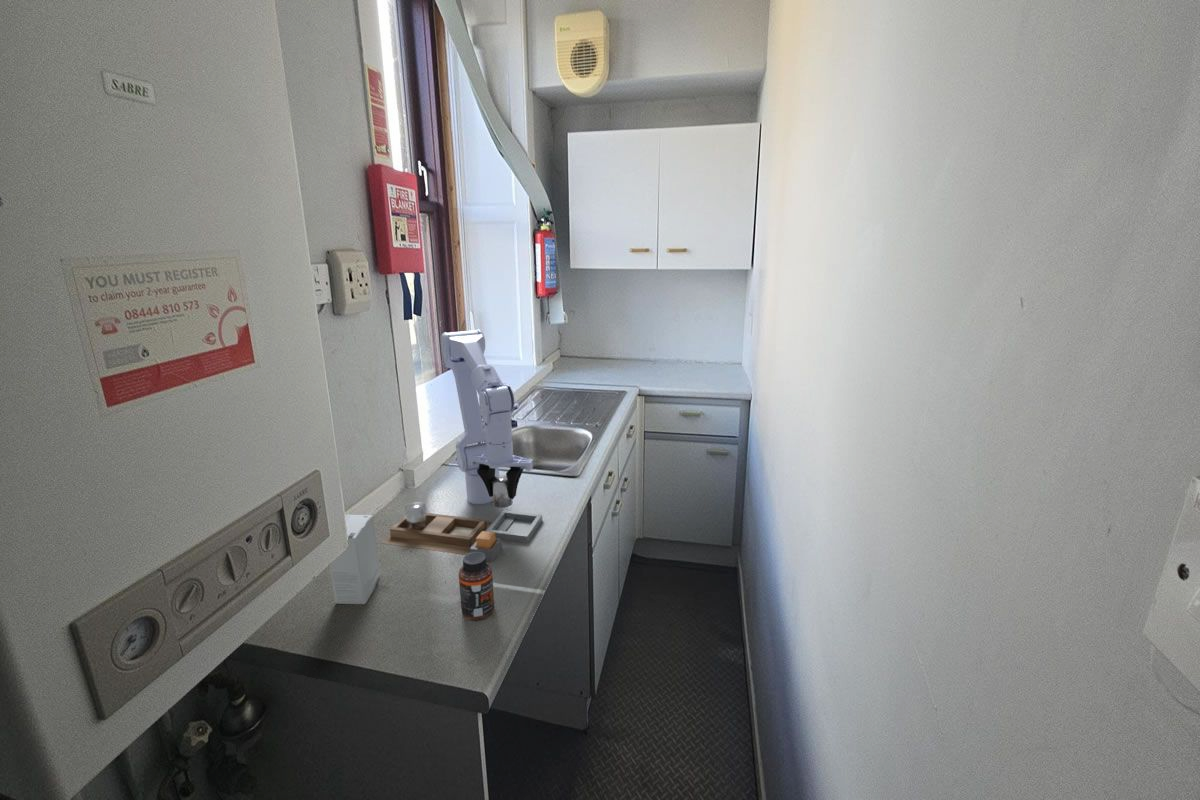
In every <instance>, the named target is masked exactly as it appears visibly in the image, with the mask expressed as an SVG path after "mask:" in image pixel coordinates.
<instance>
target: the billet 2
mask: <svg viewBox="0 0 1200 800" xmlns="http://www.w3.org/2000/svg"><path fill="white" fill-rule="evenodd" d="M492 491H493V501H492V503H493V506H494V507H496V508H500V509H503V508H509V507H510V506H512V505H513V504H514V498H513V499H510V496H509V484H508V479H507V476H506V474H499V475H498V476H495V477H493V478H492Z"/></svg>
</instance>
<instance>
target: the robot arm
mask: <svg viewBox="0 0 1200 800" xmlns="http://www.w3.org/2000/svg"><path fill="white" fill-rule="evenodd" d="M440 349H441V355H442V359H443V364H444V367H445V368H448V369H451V370H452V373H453V376H454V381H455V385H456V391H457V398H458V401H459V407H460V408H459V409H460V414H461V418H462V425H463V431H464V433H463V435H462V436H461V437H459V439H458V440H457V441H456V443H455V451H456V461H457V467H458V469H459V470H460V471H461V472H462V473H464V478H465V488H466V501H467V502H469V503H470V504H473V505H485V504H488V503H491V502H493V491H492V478H493V477H495V476H498V475H500V470H499V468H509V469H508V471H507V472H506V473H505V475H506V476H507V479H508V484H509V496H510V499H513V500H514V498H515V497H516V496H517V490H518V486H519V482H520V478H521V476H522V474H523V472H524V470H525V471H526V472H527V471H528V472H530V471H531V470H532V469H533V468H534V460H533V459H531V458H526V457H523V456H517V455H516V454H515V455H514V449H513V448H514V447H513V445H514V444H513V431H512V429H513V428H512V412H513V411H514V409H515V395H514V392H513V389H512V388H511V385H509V384H507V383H505V382H502V380H501V378H500V376H499V374H498V372H497V371H496V369H495V367H493V366H492V365H490V364H488V362H487V361H486V358H485V355H484V354H485V351H486V338H485V336H484V333H483V331H482V330H481V329H479V328H478V329H473V330H462V331H451V332H446V331H445V332H443V333H442V334H441V335H440ZM483 422H484V424H483ZM481 442H482V443H481ZM483 442H484V443H483ZM475 443H477V444H475ZM470 444H471V445H470ZM467 445H468V446H467Z"/></svg>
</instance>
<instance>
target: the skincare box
mask: <svg viewBox="0 0 1200 800" xmlns="http://www.w3.org/2000/svg"><path fill="white" fill-rule="evenodd" d="M344 515H345V521H346V527H347V535H348V547H347V548H346V550H345V551H344V552H343V553H342V554H341V555H340V556H339V557H338V558H337V559H336V560H335V561H333V562H332V563H331V564H330V565H329V564H328V565H329V573H330V579H331V584H332V590H333V591H332V592H333V597H334V603H335V604H338V605H340V604H342V605H365V604H366V603H367V602H368V600H369V598H370V597H371V595H372V593H373V592H374V590H375V589H376V587H377V585H378V583H377V582H378V580H379V579H380V577H381V567H380V559H379V552H378V545H377V544H378V543H377V535H376V530H375V529H376V528H375V522H374V521H375V520H374V515H371V514H344Z"/></svg>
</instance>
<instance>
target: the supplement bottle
mask: <svg viewBox="0 0 1200 800" xmlns="http://www.w3.org/2000/svg"><path fill="white" fill-rule="evenodd" d="M493 576H494V575H493V569H492V566H491V565H490V564H489V562H488V561H486V556H485V554H483V553H481V552H472V553H471V552H470V553H469V554H467V555H464V556H463V558H462V566H461V567H460V568H459V570H458V584H459V596H460V606H461V607H460V608H461V613H462V616H463V617H464V618H465V619H466V620H469V621H480V620H483V619H486V618H488V617H489V616H490V615H492V613H493V612H494V610H495V597H494V595H495V594H494V582H493V581H494V580H493Z"/></svg>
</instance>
